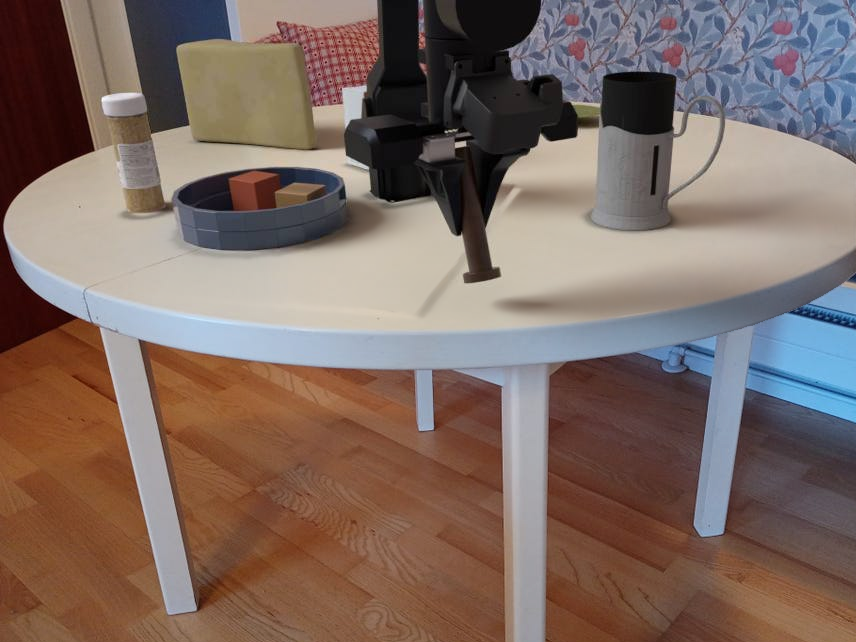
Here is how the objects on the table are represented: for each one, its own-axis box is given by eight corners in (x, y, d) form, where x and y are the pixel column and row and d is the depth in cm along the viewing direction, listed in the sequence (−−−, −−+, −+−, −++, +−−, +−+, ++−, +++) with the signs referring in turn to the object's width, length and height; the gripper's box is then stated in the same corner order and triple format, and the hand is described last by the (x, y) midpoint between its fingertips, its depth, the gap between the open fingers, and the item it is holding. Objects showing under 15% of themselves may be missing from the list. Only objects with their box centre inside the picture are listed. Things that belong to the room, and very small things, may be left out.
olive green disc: (611, 117, 141) (612, 105, 140) (593, 130, 132) (594, 118, 131) (549, 114, 145) (549, 102, 144) (527, 127, 136) (527, 115, 135)
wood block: (298, 217, 92) (294, 182, 90) (330, 220, 91) (326, 185, 89) (279, 228, 89) (274, 192, 87) (311, 231, 88) (306, 195, 86)
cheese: (335, 142, 129) (325, 40, 122) (292, 156, 121) (278, 48, 114) (235, 130, 139) (220, 35, 132) (190, 141, 132) (171, 42, 125)
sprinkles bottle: (133, 207, 99) (107, 92, 93) (171, 205, 100) (148, 90, 94) (122, 218, 95) (94, 99, 89) (162, 216, 96) (137, 97, 90)
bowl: (314, 195, 102) (310, 159, 100) (374, 234, 88) (370, 193, 86) (164, 221, 94) (156, 182, 92) (203, 268, 80) (195, 224, 78)
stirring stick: (500, 274, 71) (476, 146, 69) (502, 277, 68) (477, 143, 66) (464, 281, 71) (439, 153, 69) (464, 285, 68) (438, 150, 66)
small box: (369, 172, 112) (362, 92, 107) (347, 164, 116) (340, 87, 111) (417, 161, 116) (412, 84, 112) (394, 155, 120) (389, 80, 115)
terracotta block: (234, 212, 94) (228, 178, 93) (258, 203, 97) (253, 170, 96) (259, 217, 93) (254, 182, 91) (284, 208, 96) (279, 174, 94)
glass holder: (618, 201, 97) (626, 68, 90) (730, 224, 88) (748, 79, 81) (575, 220, 91) (579, 78, 84) (691, 246, 82) (706, 91, 76)
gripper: (397, 57, 52) (412, 286, 59) (626, 35, 60) (615, 237, 68) (331, 42, 61) (351, 243, 68) (540, 24, 69) (538, 205, 76)
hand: (468, 232), depth 70 cm, fingers closed on stirring stick, 2 cm apart
